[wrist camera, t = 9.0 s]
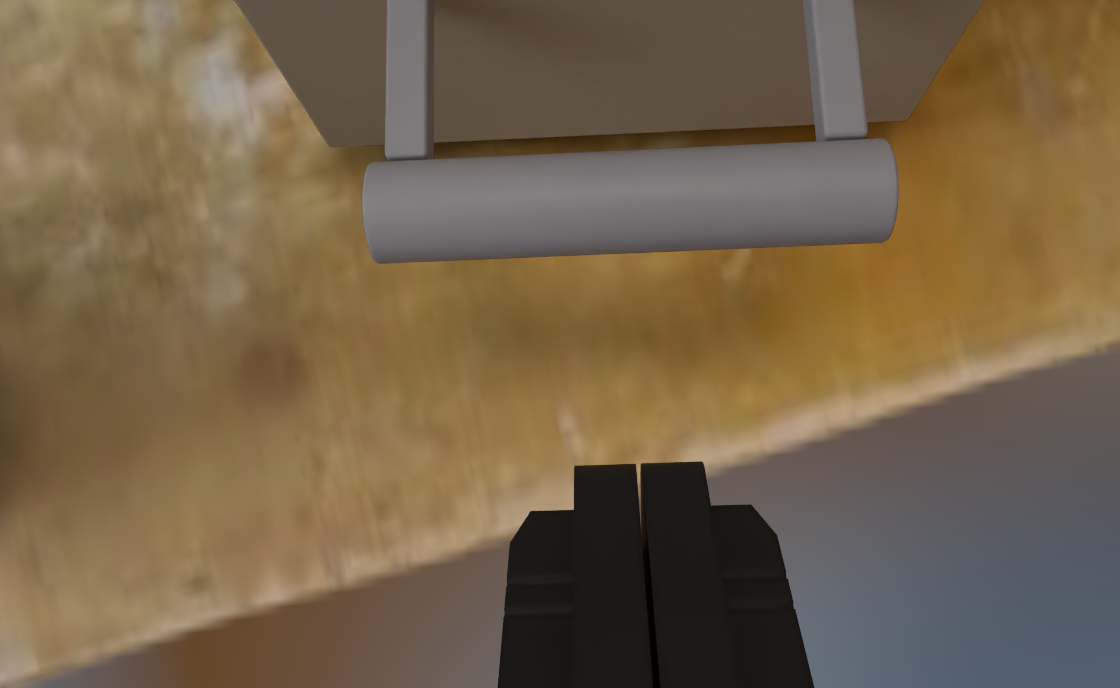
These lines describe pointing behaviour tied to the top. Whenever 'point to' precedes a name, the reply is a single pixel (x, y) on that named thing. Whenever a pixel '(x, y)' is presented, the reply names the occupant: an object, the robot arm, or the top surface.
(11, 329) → the top surface
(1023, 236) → the top surface
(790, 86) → the drawer
